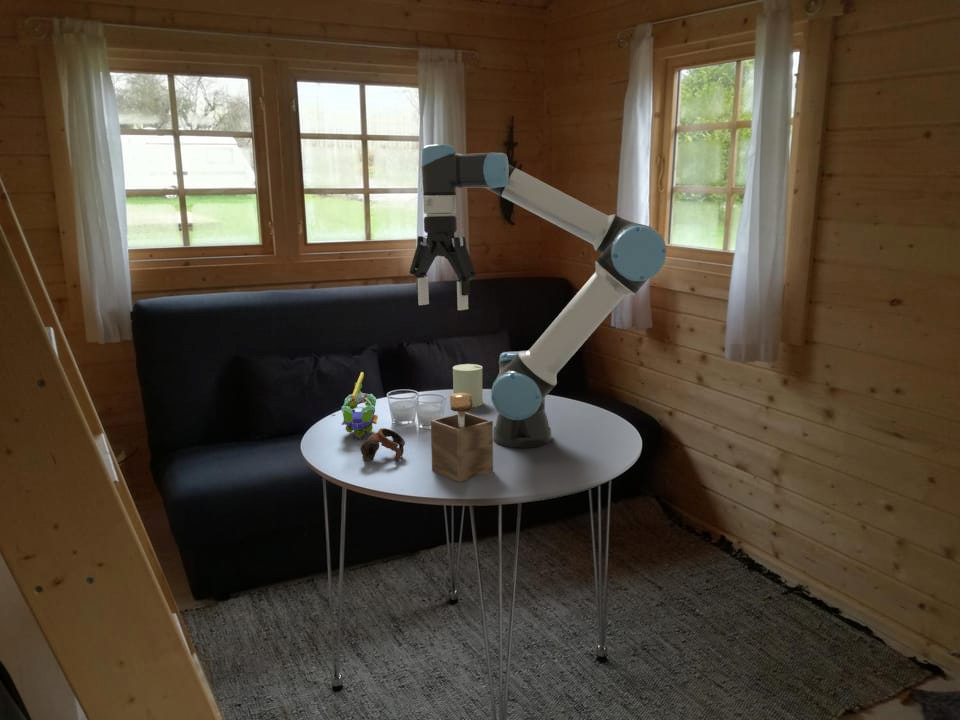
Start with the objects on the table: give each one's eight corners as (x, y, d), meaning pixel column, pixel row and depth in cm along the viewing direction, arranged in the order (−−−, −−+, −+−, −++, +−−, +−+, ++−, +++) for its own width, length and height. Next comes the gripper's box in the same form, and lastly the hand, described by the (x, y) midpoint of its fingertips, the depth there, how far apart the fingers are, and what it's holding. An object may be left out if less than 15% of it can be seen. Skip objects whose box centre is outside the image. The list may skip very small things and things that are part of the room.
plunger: (464, 456, 173) (463, 389, 169) (486, 465, 167) (486, 395, 163) (437, 464, 168) (436, 395, 164) (459, 473, 162) (458, 402, 158)
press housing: (465, 459, 174) (464, 411, 172) (493, 471, 167) (492, 421, 164) (432, 470, 168) (430, 420, 165) (459, 482, 161) (458, 430, 158)
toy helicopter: (374, 450, 182) (371, 394, 179) (337, 451, 181) (334, 395, 178) (380, 420, 206) (378, 370, 203) (348, 421, 206) (345, 371, 202)
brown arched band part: (374, 451, 183) (389, 424, 181) (399, 473, 179) (415, 446, 177) (344, 454, 172) (360, 425, 170) (370, 478, 168) (387, 449, 166)
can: (483, 407, 218) (483, 368, 215) (453, 408, 217) (452, 369, 215) (482, 399, 227) (482, 362, 224) (453, 400, 226) (452, 362, 224)
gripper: (392, 215, 172) (396, 304, 177) (466, 215, 155) (468, 313, 160) (416, 214, 177) (420, 300, 182) (490, 214, 160) (492, 309, 165)
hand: (442, 307), depth 171 cm, fingers open, 13 cm apart
